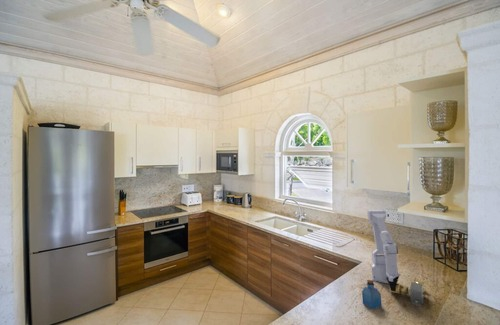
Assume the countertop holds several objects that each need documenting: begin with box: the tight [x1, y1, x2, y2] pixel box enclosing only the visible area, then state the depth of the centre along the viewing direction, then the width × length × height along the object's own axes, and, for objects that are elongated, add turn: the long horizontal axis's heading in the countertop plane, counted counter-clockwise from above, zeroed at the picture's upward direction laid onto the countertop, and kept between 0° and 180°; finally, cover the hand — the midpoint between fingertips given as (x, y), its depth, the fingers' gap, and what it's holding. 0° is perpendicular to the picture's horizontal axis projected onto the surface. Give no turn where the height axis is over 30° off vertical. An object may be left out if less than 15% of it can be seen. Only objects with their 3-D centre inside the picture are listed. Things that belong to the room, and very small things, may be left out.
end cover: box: [389, 282, 410, 296], centre depth 132 cm, size 9×5×5 cm, turn 52°
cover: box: [414, 280, 426, 294], centre depth 135 cm, size 5×5×4 cm
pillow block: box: [409, 281, 424, 307], centre depth 127 cm, size 5×16×6 cm, turn 142°
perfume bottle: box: [361, 279, 382, 310], centre depth 124 cm, size 6×6×12 cm
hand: (393, 289), depth 134 cm, fingers closed on end cover, 3 cm apart
